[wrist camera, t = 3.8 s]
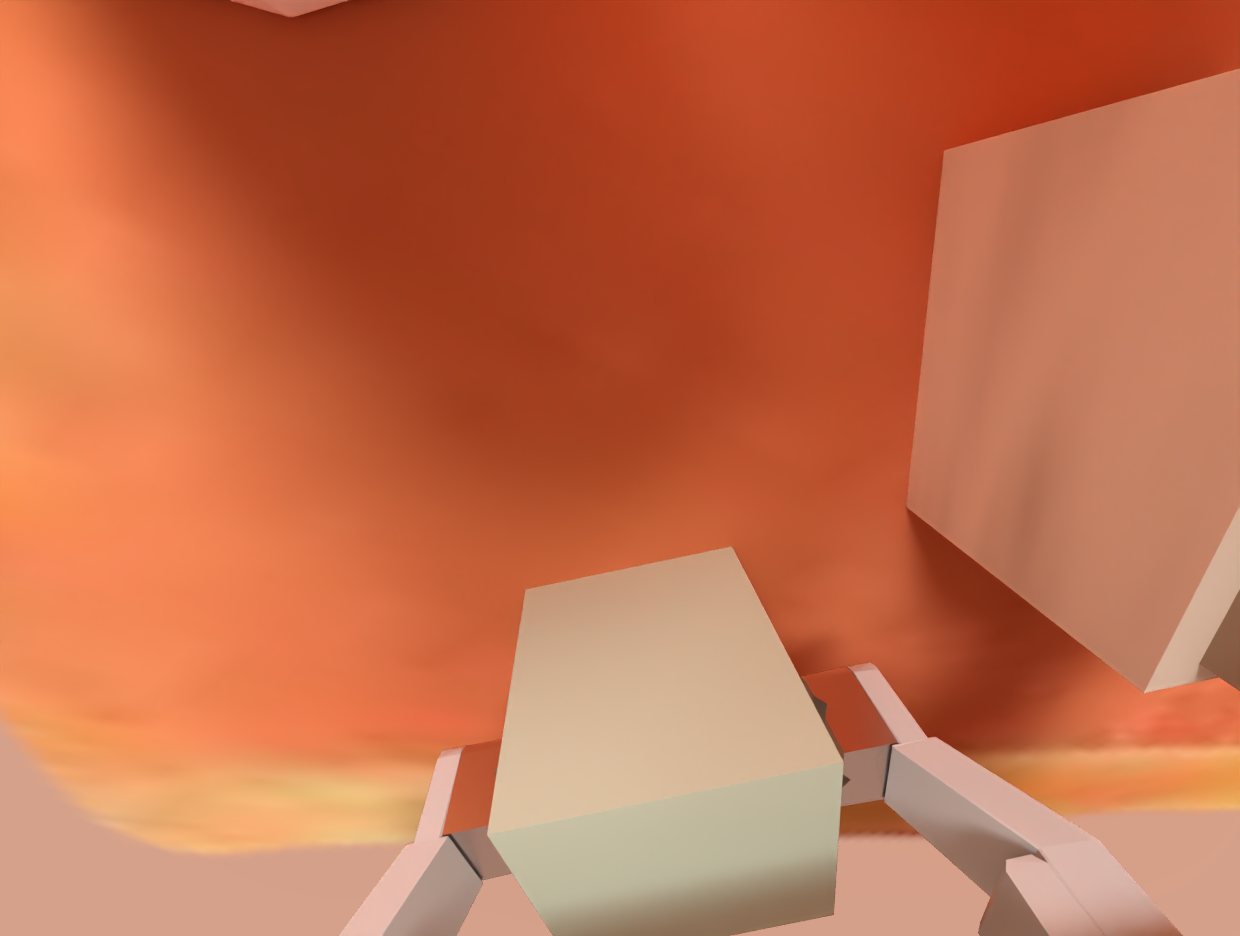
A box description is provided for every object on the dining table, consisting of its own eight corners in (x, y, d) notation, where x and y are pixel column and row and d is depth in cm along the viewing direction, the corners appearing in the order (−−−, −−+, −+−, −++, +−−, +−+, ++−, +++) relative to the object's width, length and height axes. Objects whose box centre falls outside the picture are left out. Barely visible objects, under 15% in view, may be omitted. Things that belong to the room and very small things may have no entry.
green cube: (730, 543, 10) (844, 762, 6) (744, 681, 13) (833, 914, 8) (526, 587, 11) (487, 834, 6) (575, 716, 13) (573, 966, 8)
